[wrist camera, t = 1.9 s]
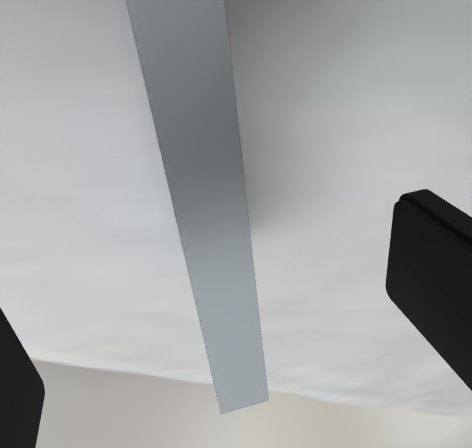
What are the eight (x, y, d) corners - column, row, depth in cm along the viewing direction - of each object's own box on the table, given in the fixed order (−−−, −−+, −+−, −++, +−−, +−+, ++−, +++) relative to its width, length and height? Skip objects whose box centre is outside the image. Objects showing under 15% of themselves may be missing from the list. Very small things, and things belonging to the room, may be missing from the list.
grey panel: (100, -119, 15) (66, -260, 6) (152, -124, 15) (194, -267, 6) (185, 255, 25) (220, 414, 16) (216, 248, 25) (268, 400, 16)
